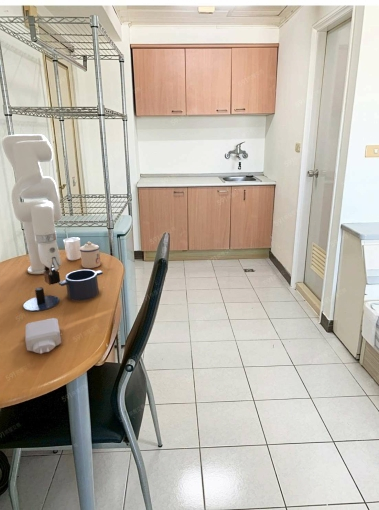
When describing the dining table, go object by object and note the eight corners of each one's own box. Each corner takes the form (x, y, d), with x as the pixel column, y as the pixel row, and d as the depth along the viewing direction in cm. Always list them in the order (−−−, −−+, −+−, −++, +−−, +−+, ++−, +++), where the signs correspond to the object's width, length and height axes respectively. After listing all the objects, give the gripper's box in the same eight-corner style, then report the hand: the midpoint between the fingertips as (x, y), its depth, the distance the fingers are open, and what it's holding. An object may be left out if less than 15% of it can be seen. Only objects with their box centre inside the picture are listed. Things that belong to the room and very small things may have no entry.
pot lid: (19, 305, 127) (15, 288, 125) (51, 295, 135) (49, 279, 133) (30, 316, 119) (27, 299, 117) (64, 305, 127) (62, 288, 124)
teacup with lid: (100, 267, 163) (98, 244, 159) (80, 269, 161) (77, 245, 157) (102, 259, 174) (99, 237, 170) (83, 261, 172) (80, 238, 169)
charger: (27, 364, 93) (27, 337, 106) (63, 355, 97) (59, 330, 110) (24, 349, 92) (25, 323, 105) (61, 341, 95) (57, 317, 108)
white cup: (73, 261, 172) (70, 242, 168) (62, 259, 176) (60, 240, 172) (85, 257, 178) (83, 238, 175) (75, 254, 182) (72, 236, 179)
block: (45, 281, 137) (43, 271, 136) (55, 278, 140) (54, 268, 138) (49, 285, 134) (47, 274, 133) (60, 281, 137) (58, 271, 135)
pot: (56, 297, 133) (53, 276, 130) (96, 284, 144) (94, 265, 141) (69, 307, 125) (66, 285, 122) (110, 293, 136) (108, 273, 133)
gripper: (65, 240, 127) (70, 285, 133) (47, 230, 139) (53, 272, 145) (44, 244, 122) (51, 291, 129) (27, 234, 134) (35, 277, 140)
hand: (52, 280), depth 137 cm, fingers closed on block, 4 cm apart
